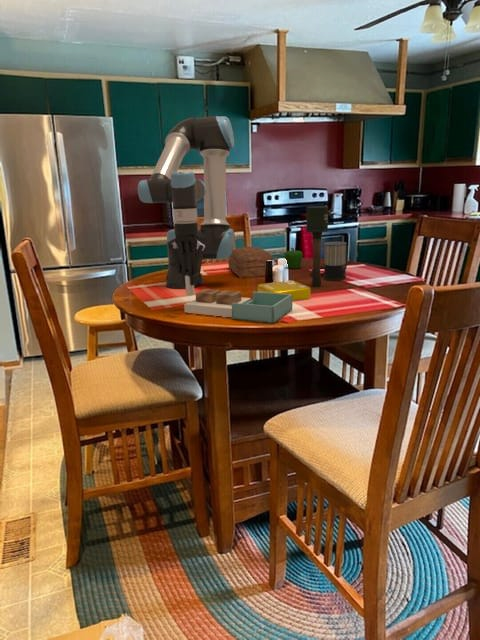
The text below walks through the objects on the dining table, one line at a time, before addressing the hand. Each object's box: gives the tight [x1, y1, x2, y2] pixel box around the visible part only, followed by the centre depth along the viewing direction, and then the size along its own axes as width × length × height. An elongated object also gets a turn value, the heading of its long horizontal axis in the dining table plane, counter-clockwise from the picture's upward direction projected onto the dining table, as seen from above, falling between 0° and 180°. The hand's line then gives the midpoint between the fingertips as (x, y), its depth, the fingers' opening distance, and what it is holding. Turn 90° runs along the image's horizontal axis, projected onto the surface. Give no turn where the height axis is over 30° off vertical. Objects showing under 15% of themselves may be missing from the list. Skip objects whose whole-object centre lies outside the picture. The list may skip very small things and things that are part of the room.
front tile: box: [216, 289, 242, 305], centre depth 151 cm, size 6×6×3 cm
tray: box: [231, 291, 293, 324], centre depth 147 cm, size 14×16×5 cm
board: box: [183, 296, 252, 318], centre depth 154 cm, size 17×14×3 cm
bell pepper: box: [284, 247, 303, 270], centre depth 222 cm, size 8×8×10 cm
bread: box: [227, 246, 275, 278], centre depth 217 cm, size 17×29×11 cm, turn 11°
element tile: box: [257, 280, 312, 302], centre depth 169 cm, size 15×15×5 cm
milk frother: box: [309, 241, 349, 282], centre depth 198 cm, size 14×16×15 cm
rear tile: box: [195, 288, 222, 303], centre depth 155 cm, size 6×6×3 cm
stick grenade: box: [305, 205, 330, 288], centre depth 180 cm, size 8×9×30 cm
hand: (190, 294), depth 157 cm, fingers closed
